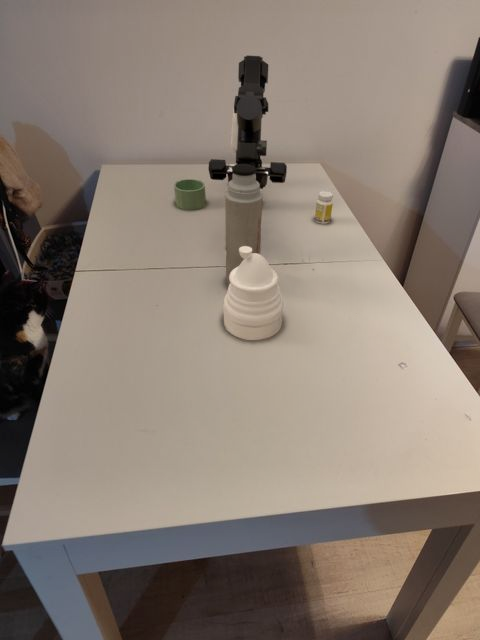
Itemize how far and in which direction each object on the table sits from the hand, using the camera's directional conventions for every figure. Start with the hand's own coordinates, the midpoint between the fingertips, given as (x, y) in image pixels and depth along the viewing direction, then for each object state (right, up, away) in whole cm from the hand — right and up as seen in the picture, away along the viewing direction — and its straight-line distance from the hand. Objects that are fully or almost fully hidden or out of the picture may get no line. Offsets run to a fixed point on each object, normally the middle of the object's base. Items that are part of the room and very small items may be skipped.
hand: (246, 205), depth 108 cm
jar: (-19, +11, +33) cm, 39 cm away
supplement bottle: (+22, +4, +28) cm, 36 cm away
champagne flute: (-4, +22, +46) cm, 51 cm away
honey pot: (+2, -29, -10) cm, 31 cm away
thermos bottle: (-1, -19, +1) cm, 19 cm away
